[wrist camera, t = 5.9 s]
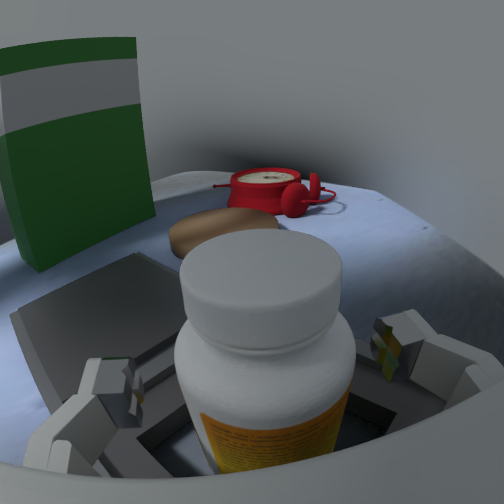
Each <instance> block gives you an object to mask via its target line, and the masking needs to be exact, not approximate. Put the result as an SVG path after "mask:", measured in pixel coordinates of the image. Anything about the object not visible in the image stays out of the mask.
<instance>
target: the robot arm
mask: <svg viewBox="0 0 504 504" xmlns="http://www.w3.org/2000/svg"><path fill="white" fill-rule="evenodd" d="M374 329H375V330H376V333H375V334H374V335H373V336H372V337H371V343H370V347H371V353H372V356H373V358H374V360H375V361H376V362H377V363H379V364H381V365H383V366H382V372H383V374H384V375H385V377H386V379H387V380H388V382H389V383H393V382H397V381H400V380H403V379H406V378H409V377H410V379H411V380H413V381H415V382H416V383H418V384H419V385H421V386H423V387H424V388H426V389H427V390H429V391H431V392H432V393H434V394H436V395H437V396H439V397H441V398H442V399H444V400H445V401H447V404H446V406H445V407H444V409H443V411H442V412H440V413H438V414H436V415H434V416H432V417H429V418H427V419H425V420H423V421H420V422H418V423H416V424H413V425H411V426H408V427H406V428H404V429H401V430H398V431H396V432H393V433H391V434H388V435H385V436H383V437H380V438H377V439H374V440H371V441H368V442H365V443H362V444H359V445H356V446H353V447H350V448H346V449H343V450H340V451H336V452H333V453H329V454H325V455H322V456H318V457H314V458H310V459H306V460H301V461H297V462H293V463H288V464H283V465H278V466H273V467H268V468H262V469H256V470H250V471H243V472H236V473H228V474H220V475H210V476H198V477H183V478H155V479H137V478H109V477H102V476H101V475H100V474H99V473H98V472H97V471H96V470H95V469H94V468H93V467H92V466H93V465H94V464H95V462H96V461H97V459H98V458H99V457H100V455H101V454H102V452H103V451H104V449H105V448H106V447H107V445H108V444H109V442H110V441H111V440H112V438H113V437H114V435H115V434H116V433H117V431H118V429H125V428H142V420H143V410H142V408H141V406H140V405H141V404H142V403H143V402H144V385H143V381H142V378H141V376H140V374H139V373H137V372H136V371H135V369H136V364H135V361H134V359H133V358H132V357H105V358H89V359H88V360H87V362H86V366H85V369H84V372H83V376H82V379H81V383H80V386H79V390H78V394H75V395H72V396H71V397H70V398H69V399H68V400H67V401H66V402H65V403H64V404H63V405H62V406H61V407H60V408H59V409H58V410H57V411H55V412H54V413H53V414H52V415H51V416H50V417H49V418H48V419H47V420H46V421H45V422H44V423H43V424H42V425H41V426H40V427H39V428H38V429H36V430H35V431H34V432H33V433H32V434H31V435H30V438H29V442H28V445H27V449H26V453H25V456H24V460H23V464H22V466H20V465H15V464H11V463H7V462H2V461H0V504H504V367H503V365H502V364H501V363H500V362H499V361H498V360H497V359H496V358H495V357H494V355H493V354H491V353H488V352H486V351H483V350H481V349H478V348H476V347H473V346H471V345H468V344H466V343H463V342H461V341H458V340H456V339H453V338H451V337H448V336H446V335H443V334H439V335H438V334H437V333H436V332H435V331H434V330H433V328H432V327H431V326H430V325H429V324H428V323H427V322H426V321H425V320H424V319H423V317H422V316H421V315H420V314H419V313H418V312H417V311H416V310H414V309H411V310H407V311H403V312H401V313H396V314H393V315H389V316H385V317H381V318H377V320H376V321H375V324H374Z"/></svg>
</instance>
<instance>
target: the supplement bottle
mask: <svg viewBox="0 0 504 504" xmlns="http://www.w3.org/2000/svg"><path fill="white" fill-rule="evenodd" d="M179 275H180V282H181V287H182V293H183V300H184V308H185V312H186V315H187V318H188V319H187V321H186V322H185V323H184V325H183V327H182V328H181V330H180V332H179V334H178V337H177V340H176V344H175V349H174V362H175V368H176V373H177V378H178V382H179V385H180V388H181V391H182V394H183V397H184V399H185V402H186V405H187V408H188V411H189V414H190V417H191V419H192V422H193V425H194V427H195V430H196V433H197V435H198V438H199V441H200V444H201V446H202V449H203V451H204V454H205V456H206V459H207V461H208V463H209V466H210V468H211V469H212V471H213V473H214V475H220V474H228V473H236V472H243V471H250V470H256V469H262V468H268V467H273V466H278V465H283V464H288V463H293V462H297V461H301V460H306V459H310V458H314V457H318V456H322V455H325V454H329V453H333V450H334V446H335V443H336V439H337V436H338V432H339V429H340V425H341V421H342V417H343V414H344V410H345V406H346V403H347V399H348V395H349V391H350V387H351V382H352V378H353V373H354V368H355V361H356V345H355V340H354V336H353V333H352V330H351V328H350V326H349V324H348V322H347V321H346V319H345V318H344V317H343V316H342V314H341V313H340V312H339V311H338V308H339V305H340V296H341V280H342V263H341V259H340V257H339V255H338V253H337V252H336V250H335V249H334V248H332V247H331V246H330V245H329V244H328V243H326V242H325V241H323V240H321V239H319V238H317V237H314V236H312V235H309V234H305V233H301V232H297V231H291V230H283V229H251V230H243V231H237V232H232V233H227V234H224V235H220V236H217V237H215V238H212V239H210V240H207V241H205V242H203V243H202V244H200V245H198V246H197V247H195V248H194V249H193V250H192V251H190V252H189V253H188V254H187V255H186V257H185V258H184V260H183V261H182V263H181V266H180V274H179Z"/></svg>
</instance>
